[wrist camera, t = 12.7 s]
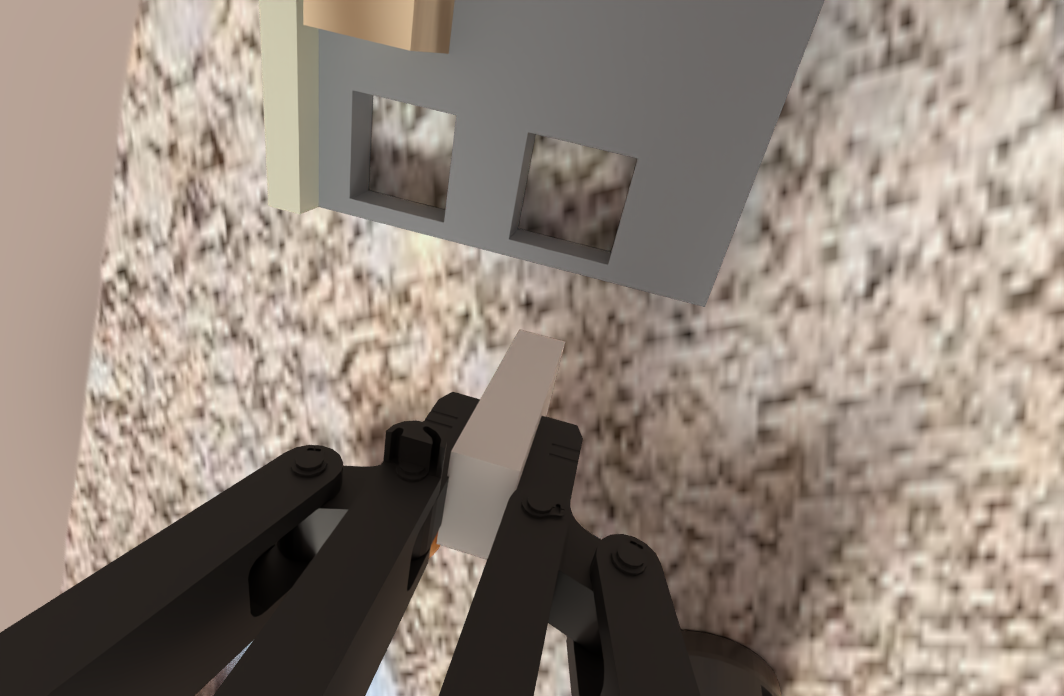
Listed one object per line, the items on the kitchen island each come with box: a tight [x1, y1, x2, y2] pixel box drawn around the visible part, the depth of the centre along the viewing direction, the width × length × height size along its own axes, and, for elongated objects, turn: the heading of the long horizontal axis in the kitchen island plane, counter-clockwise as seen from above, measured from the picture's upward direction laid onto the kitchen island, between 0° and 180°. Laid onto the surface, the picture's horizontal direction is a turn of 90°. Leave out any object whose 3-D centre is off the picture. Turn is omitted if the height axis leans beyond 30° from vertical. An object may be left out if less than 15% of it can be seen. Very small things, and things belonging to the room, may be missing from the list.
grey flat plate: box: [259, 0, 824, 307], centre depth 28 cm, size 26×16×4 cm, turn 79°
